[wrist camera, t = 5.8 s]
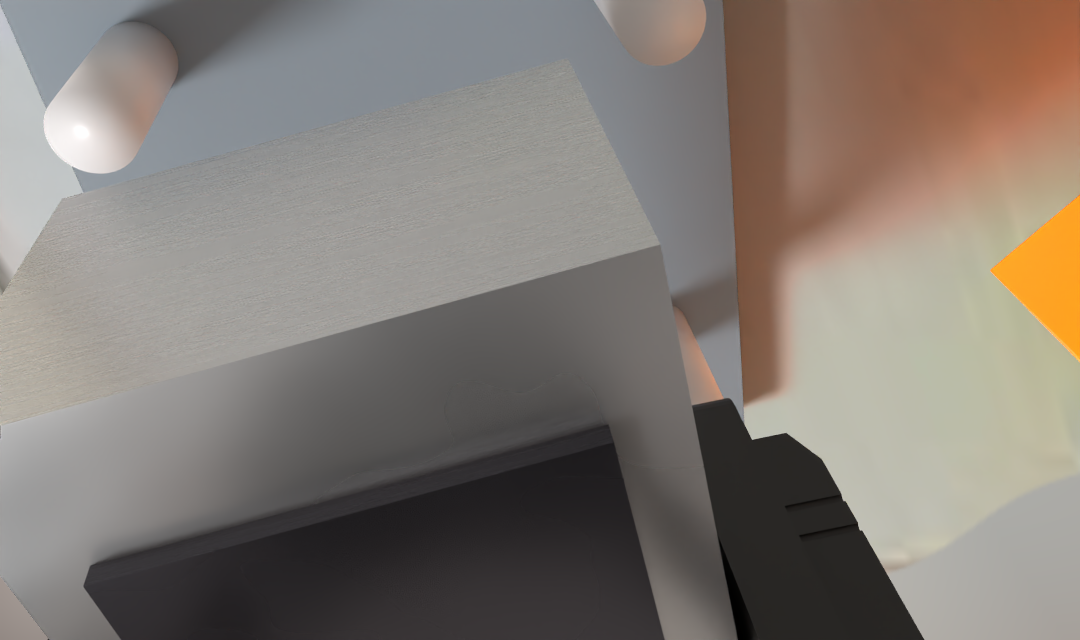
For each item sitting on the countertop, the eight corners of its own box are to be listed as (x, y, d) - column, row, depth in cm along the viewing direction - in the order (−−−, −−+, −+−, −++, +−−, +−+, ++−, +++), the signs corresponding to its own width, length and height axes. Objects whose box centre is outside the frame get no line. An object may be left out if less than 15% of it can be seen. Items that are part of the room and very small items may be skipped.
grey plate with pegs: (-44, -175, 15) (-175, -128, 11) (685, -308, 15) (776, -303, 12) (248, 511, 23) (223, 665, 19) (729, 412, 23) (792, 547, 19)
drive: (61, 198, 10) (-110, 472, 6) (568, 59, 10) (666, 259, 6) (366, 745, 15) (362, 1065, 11) (703, 656, 14) (800, 949, 11)
